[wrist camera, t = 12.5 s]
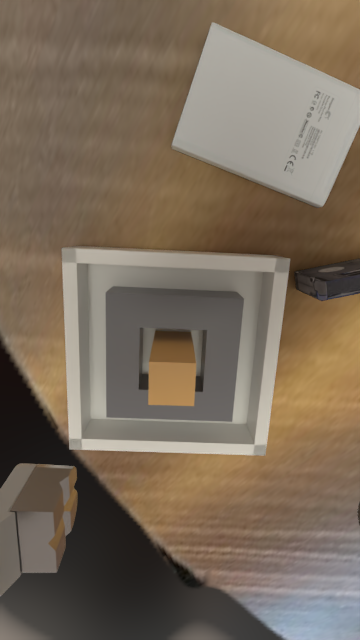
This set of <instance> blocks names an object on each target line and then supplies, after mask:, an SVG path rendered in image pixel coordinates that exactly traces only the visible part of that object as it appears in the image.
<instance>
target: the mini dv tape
mask: <svg viewBox="0 0 360 640" xmlns="http://www.w3.org/2000/svg"><path fill="white" fill-rule="evenodd" d="M294 273H295V282H296V290H299V291H301V292H303V293H305V294H308V295H310V296H312V297H314V298H316V299H319V300H321V301H323V300H328V299H334V298H339V297H344V296H349V295H354V294H359V293H360V259H355V260H350V261H345V262H340V263H335V264H330V265H325V266H320V267H315V268H310V269H305V270H300V271H295V272H294Z"/></svg>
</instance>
